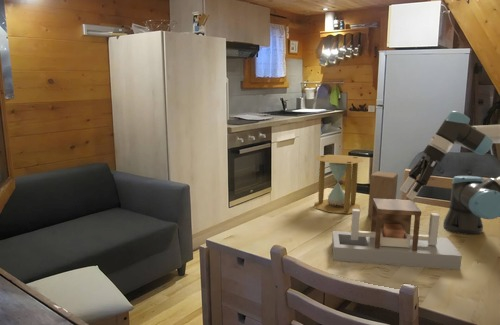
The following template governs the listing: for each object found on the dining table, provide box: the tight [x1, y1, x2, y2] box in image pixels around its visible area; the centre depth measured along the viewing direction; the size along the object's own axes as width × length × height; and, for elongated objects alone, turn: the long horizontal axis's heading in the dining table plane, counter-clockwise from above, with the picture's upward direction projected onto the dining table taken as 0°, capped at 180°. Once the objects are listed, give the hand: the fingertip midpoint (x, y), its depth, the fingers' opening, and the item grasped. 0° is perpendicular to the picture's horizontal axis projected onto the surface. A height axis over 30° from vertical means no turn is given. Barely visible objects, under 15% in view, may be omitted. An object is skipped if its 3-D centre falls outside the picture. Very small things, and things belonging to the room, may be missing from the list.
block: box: [383, 224, 404, 238], centre depth 150 cm, size 6×6×6 cm
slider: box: [350, 209, 440, 248], centre depth 149 cm, size 29×10×11 cm, turn 81°
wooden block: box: [367, 170, 399, 218], centre depth 193 cm, size 10×10×20 cm
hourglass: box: [314, 154, 364, 215], centre depth 206 cm, size 24×22×25 cm
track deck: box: [331, 230, 463, 271], centre depth 151 cm, size 42×16×5 cm, turn 81°
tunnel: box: [370, 198, 422, 251], centre depth 149 cm, size 14×14×14 cm
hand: (405, 194), depth 164 cm, fingers open, 13 cm apart
